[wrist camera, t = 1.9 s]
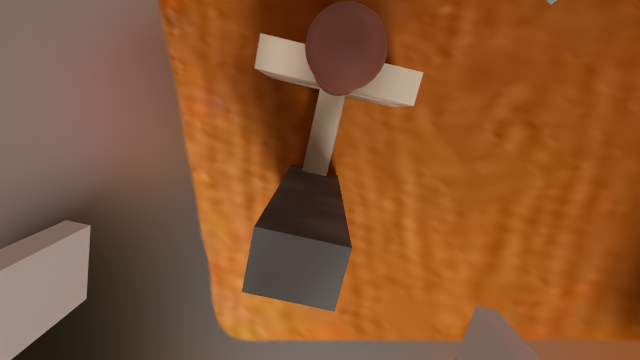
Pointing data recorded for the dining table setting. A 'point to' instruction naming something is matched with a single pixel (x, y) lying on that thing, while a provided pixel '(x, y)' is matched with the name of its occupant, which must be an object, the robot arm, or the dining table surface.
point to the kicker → (320, 153)
